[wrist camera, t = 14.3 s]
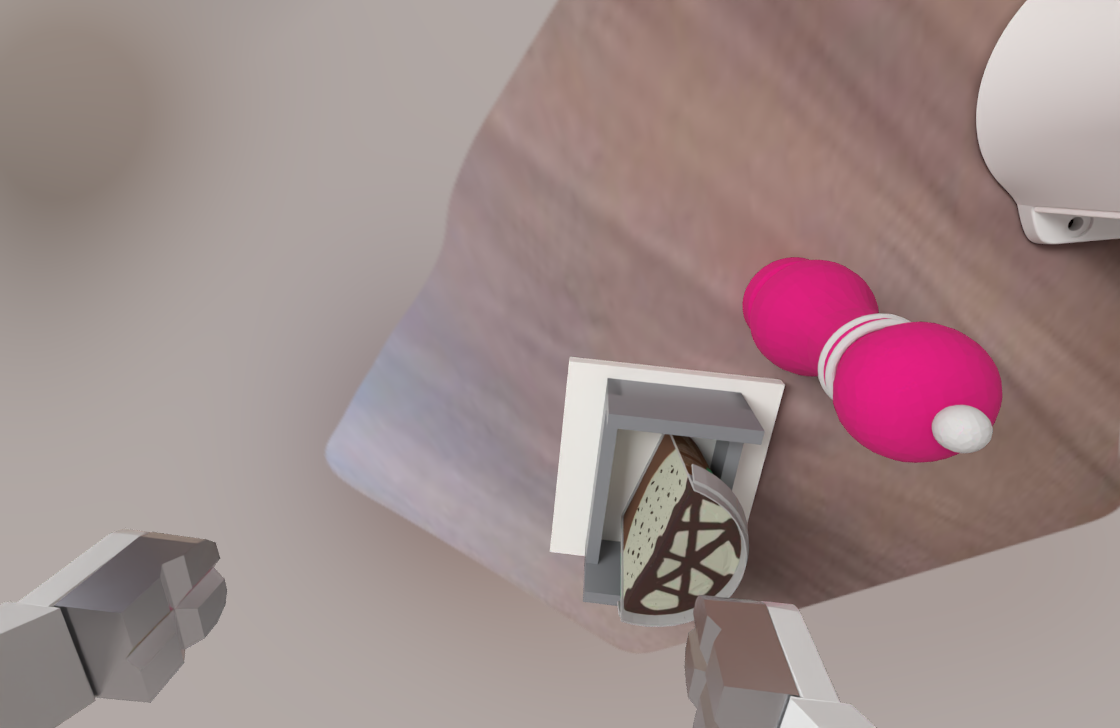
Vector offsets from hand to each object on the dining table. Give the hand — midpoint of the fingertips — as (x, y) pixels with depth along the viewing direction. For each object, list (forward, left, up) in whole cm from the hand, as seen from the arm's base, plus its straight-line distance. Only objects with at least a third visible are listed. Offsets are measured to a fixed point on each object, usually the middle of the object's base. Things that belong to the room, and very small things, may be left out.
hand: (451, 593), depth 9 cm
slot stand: (-9, +16, -30) cm, 35 cm away
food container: (-11, +17, -30) cm, 36 cm away
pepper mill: (-16, +1, -31) cm, 35 cm away
